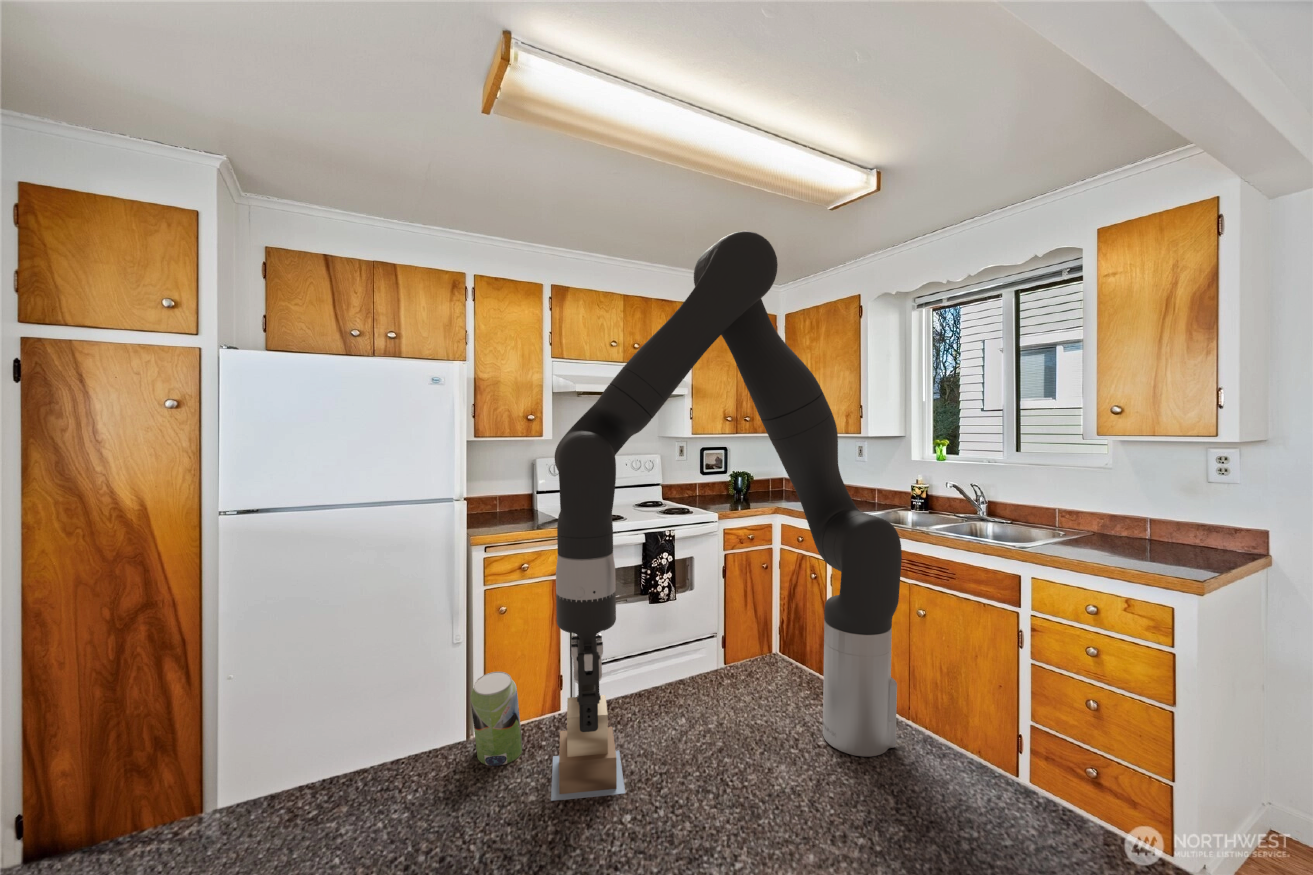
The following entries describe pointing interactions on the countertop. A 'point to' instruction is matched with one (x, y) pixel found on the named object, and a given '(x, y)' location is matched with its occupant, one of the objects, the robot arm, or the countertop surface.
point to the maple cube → (586, 741)
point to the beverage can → (496, 719)
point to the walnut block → (587, 769)
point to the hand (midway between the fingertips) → (587, 712)
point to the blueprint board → (619, 790)
